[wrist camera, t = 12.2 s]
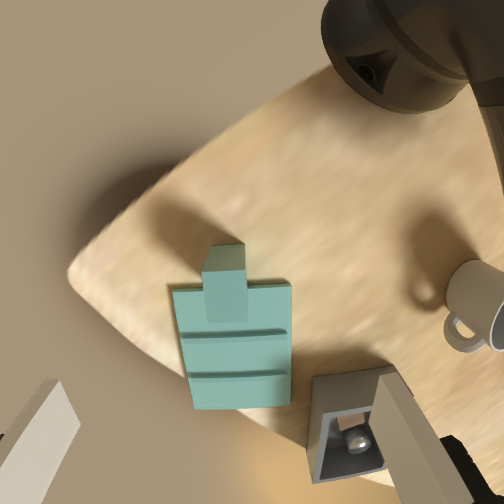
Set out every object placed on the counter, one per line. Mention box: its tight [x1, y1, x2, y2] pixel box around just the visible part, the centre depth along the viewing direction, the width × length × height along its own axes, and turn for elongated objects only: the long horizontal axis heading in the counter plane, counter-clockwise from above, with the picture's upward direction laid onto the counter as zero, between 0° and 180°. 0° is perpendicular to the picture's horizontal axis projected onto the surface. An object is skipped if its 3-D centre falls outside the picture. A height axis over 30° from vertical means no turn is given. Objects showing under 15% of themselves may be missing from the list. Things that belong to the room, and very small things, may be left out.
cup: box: [444, 260, 504, 353], centre depth 26 cm, size 7×10×9 cm
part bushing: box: [343, 424, 371, 454], centre depth 33 cm, size 3×3×3 cm
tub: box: [306, 365, 414, 484], centre depth 31 cm, size 14×10×6 cm
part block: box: [336, 412, 365, 431], centre depth 31 cm, size 3×3×3 cm
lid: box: [172, 244, 292, 409], centre depth 27 cm, size 19×11×7 cm, turn 3°
